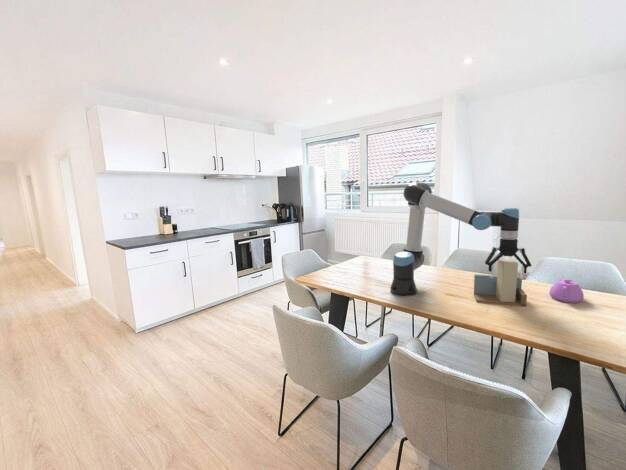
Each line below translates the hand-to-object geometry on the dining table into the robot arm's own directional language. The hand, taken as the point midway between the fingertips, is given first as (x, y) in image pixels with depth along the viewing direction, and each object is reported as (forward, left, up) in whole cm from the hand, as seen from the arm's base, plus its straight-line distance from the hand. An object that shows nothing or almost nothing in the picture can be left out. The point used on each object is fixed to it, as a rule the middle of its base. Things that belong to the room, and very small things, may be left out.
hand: (506, 278), depth 153 cm
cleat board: (-3, +1, -13) cm, 13 cm away
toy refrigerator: (0, 0, -12) cm, 12 cm away
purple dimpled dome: (+30, +13, -13) cm, 35 cm away
